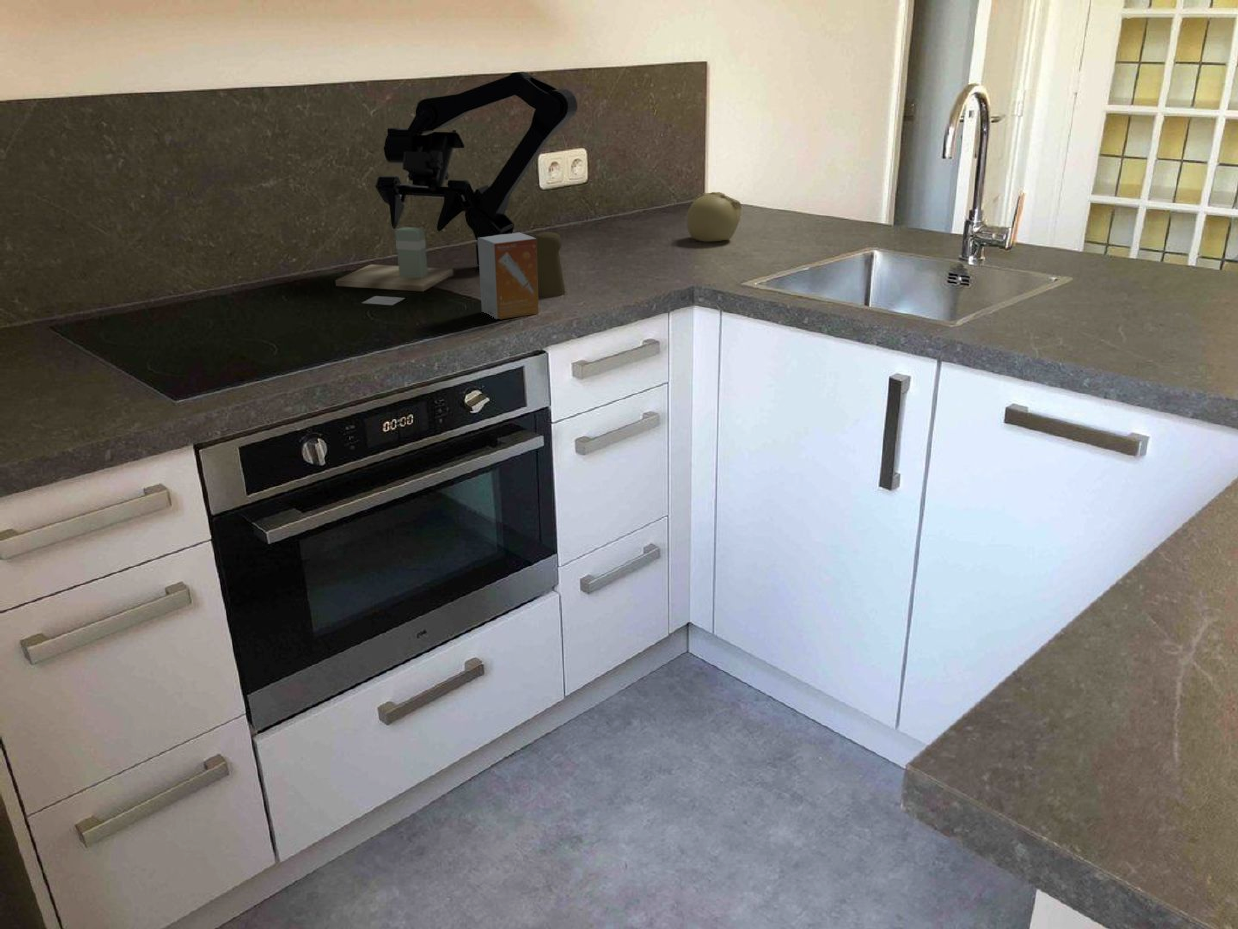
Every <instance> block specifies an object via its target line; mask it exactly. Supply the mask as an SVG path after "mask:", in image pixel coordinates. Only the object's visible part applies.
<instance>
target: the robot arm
mask: <svg viewBox="0 0 1238 929" xmlns="http://www.w3.org/2000/svg"><path fill="white" fill-rule="evenodd" d="M512 97H518V98H520V99H521V100H522V101H523V102H524V103H526V105H528V106H529V107H531V108H533V110H534V111H533V114H532V119H531V122H530V126H529V129H528V130H527V131H526V133H525V134H524V136H523V137H522V138H521V140H520V142H519V144H518V145H517V146H516V148H515V149H514V151H513V152H512V154H511V155H510V156H509V158H508V160H507V161H506V163H505V164H504V166H503V167H502V169H501V170H500V172H498V174H497V176H496V178H495V179H494V180H493V182H492V184H491V185H490V186H489V185H488V184H487V185H486V184H485V185H483V186H481V187H479V188H476V189H475V191H474V190H473V187H472V185H471V183H470V182H469V180H467V179H455V178H454V179H452V178H451V179H450V178H449V176H450V174H449V172H448V170H449V165H450V161H451V157H452V154H453V152H454V149H464V148H465V144H464V142H463V140H462V137H461V135H460V134H459V133H458V131H457V130H456V129H454V130H451V131H435V130H438V129H442V128H446V127H448V126H450V125H451V124H453V123H455V122H456V121H458V120H460V119H461V118H463V116H465V115H467V114H468V113H470V112H472V111H476V110H478V109H481V108H485V107H486V106H487V107H488V106H490V105H492V104H496V103H498V102H501V101H504V100H507V99H509V98H512ZM415 107H416V108H415V116H414V118H413V120H412V121H411V123H410V124H409V126H408V128H399V127H389V128H387V135H386V137H385V141H384V146H383V152H384V154H383V155H384V156H385V159H386V162H387V163H389V164H398V165H399V164H401V165H402V170H403V171H406V172H407V173H408V174H407V177H408V179H409V181H411V182H412V183H402V181H401V180H400V178H399V176H394V175H393V176H392V175H390V176H389V175H380V176H379V177H377V179H376V182H375V185H374V187H375V189H376V191H377V192H378V194H379V196H380V197H381V199H382V200H383V202H384V203H385V204H388V206H389V207H388V208H389V212H390V213H389V214H390V223H391V228H392V229H394V230H396V229H397V228H398V225H399V223H400V220H401V218H402V214H403V213H404V212H403V211H404V209H405V204H404V203H405V201H406V199H407V196H412V197H413V196H418V197H424V198H436V199H443V203H442V204H443V205H442V208H441V211H440V214H439V218H438V220H437V225H436V229H437V232H441V231H442V230H444V229H445V227H446V226H447V225H448V224H450V222H451V221H452V220H453V219H455V218H456V217H457V216H458V215H460V214H461V213H462V212H464V217H465V221H466V224H467V226H468V227H469V228H470V229H471V231H472V233H473V235H474V237H475V240H476V241H477V242H478V238H480V237H489V236H494V235H502V234H512V233H513V232H514V230H515V223H514V222H513V221H512V220H511V219H510V218H509V216H508V215H507V214H505V213H506V211H507V209H508V206H509V201H510V198H511V196H512V194H513V192H514V191H515V190H516V188H517V187H518V186H519V183H520V182H521V181H522V179H523V177H524V176H525V175H526V173H527V172H528V170H529V169H530V168H531V166H532V165H533V163H534V162H535V160H536V159H537V157H538V156H539V155H540V153H541V152H542V150H543V148H544V147H545V145H546V144H547V142H549V140H550V139H551V138H552V137H553V136H554V135H555V134H557V133H558V131H560V130H561V129H562V128H563V127H564V126H565V125H566V124H568V122H569V121H571V119H572V118H573V117H574V116H575V115H576V113H577V111H578V101H577V99H576V97H575V94H573V92H571V91H570V90H569V89H567V88H559V89H558V88H556V87H554V86H553V85H551V84H549V83H547V82H544V81H542V80H540V79H538V78H536V77H534V76H532V75H530V74H529V73H528V72H526V71H517V72H512V73H510V74H509V75H506V76H504V77H501V78H499V79H496V80H493V81H490V82H488V83H485V84H482V85H479V86H475V87H474V88H470V89H468V90H465V91H462V92H460V93H456V94H448V95H442V96H441V95H440V96H435V97H428V98H427V97H426V98H423V99H421V100H420V101H419V102H418V103H417V105H416V106H415ZM445 180H448V181H447V186H444V185H445ZM475 254H476V258H475V259H476V265H477V266H476V267H475V269H476V271H477V270H478V271H480V270H479V253H478V243H477V244H475Z"/></svg>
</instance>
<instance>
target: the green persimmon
mask: <svg viewBox="0 0 1238 929" xmlns="http://www.w3.org/2000/svg"><path fill="white" fill-rule="evenodd" d="M741 211H742V204H741V202H740V201H739V200H737V199H735V198H732V197H730V196H728V195H726V194H725V193H723V192H720V191H713V192H712V191H711V192H701V194H699V195H698V196H696V197H694V201H693V202H692V203H691V205H690V206H689V208H688V211H687V214H686V219H685V220H686V228H687V231H688V234H689V235H690V237H691V238H692V239H695V240H696V241H700V242H709V243H710V242H719V241H720V242H721V241H728V240H730V239H732V237H733V236H734V234H735V232H736V230H737V228H738V225H739V223H740V221H741V215H742V213H741Z"/></svg>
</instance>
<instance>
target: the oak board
mask: <svg viewBox="0 0 1238 929" xmlns="http://www.w3.org/2000/svg"><path fill="white" fill-rule="evenodd" d="M427 270H428V275H427V276H425V277H423V278H421V279H420V278H403V277H400V275H399V265H387V264H386V265H384V264H369V265H366V266H364V267H362V268H359V269H357V270H355V271H353V272H351V273H348V274H347V275H344V276H342V277H339V278H337V279H335V280H334V281H335V287H346V288H347V287H349V288H365V289H367V288H369V289H379V290H380V289H381V290H395V291H396V290H397V291H412V292H424V291H426V290H429V289H430V288H432V287H433V286H435V285H437V284H439V283H441V282H442V281H444V280H446V279H447V278H450V277H453V276H454V269H453V268H441V267H440V268H439V267H427Z"/></svg>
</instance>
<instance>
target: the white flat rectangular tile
mask: <svg viewBox="0 0 1238 929" xmlns="http://www.w3.org/2000/svg"><path fill="white" fill-rule="evenodd" d="M404 299H405V297H396V296H383V295H382V296H379V295H375V296H372V297H371V298H368V299H367V300H365V301H362V302H361V304H368V305H383V306H384V305H385V306H394V305H395V304H397V303H399V302H401V301H403V300H404Z"/></svg>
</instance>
